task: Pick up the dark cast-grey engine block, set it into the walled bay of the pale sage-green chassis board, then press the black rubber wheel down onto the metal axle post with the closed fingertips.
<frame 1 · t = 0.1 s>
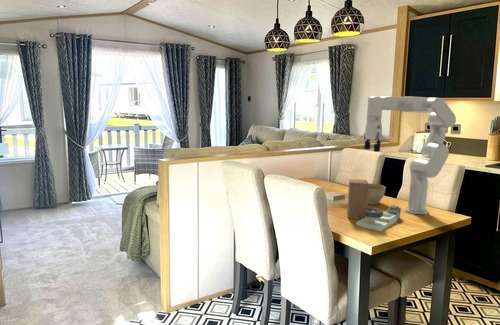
hand: (371, 150, 213), 37 cm above the table, tool pointing down, fingers open, 9 cm apart
wheel: (373, 212, 198), point 7 cm above the table, slide at 4.0 cm
engine block: (393, 218, 213), on the table
planter bowl: (371, 203, 245), on the table
chassis: (377, 223, 204), on the table
wooden block: (356, 216, 217), on the table
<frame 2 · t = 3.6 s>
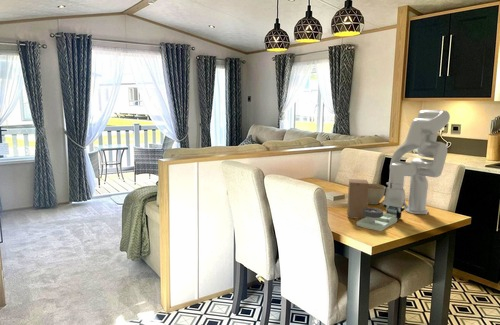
hand: (393, 217, 213), 0 cm above the table, tool pointing down, fingers closed on engine block, 5 cm apart
engine block: (393, 218, 213), on the table, touching gripper
everything else where it was.
when the fingers open (3 cm above the table, at t = 8.5 s): engine block stays where it is, resting on chassis.
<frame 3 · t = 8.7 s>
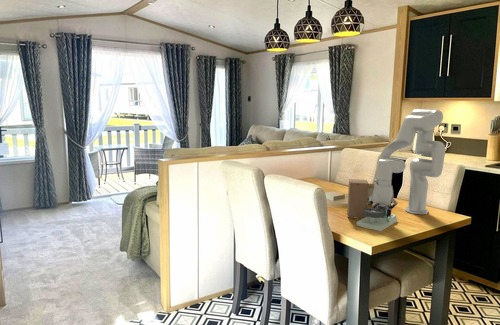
hand: (381, 214, 207), 4 cm above the table, tool pointing down, fingers open, 7 cm apart
engine block: (381, 217, 208), point 2 cm above the table, touching chassis
everything else where it was.
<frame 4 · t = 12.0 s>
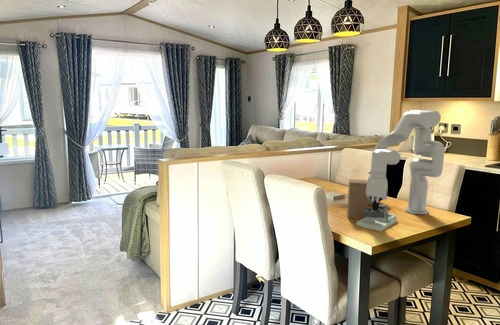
hand: (375, 209, 200), 9 cm above the table, tool pointing down, fingers closed
wheel: (373, 212, 198), point 7 cm above the table, slide at 4.0 cm, touching gripper
everything else where it was.
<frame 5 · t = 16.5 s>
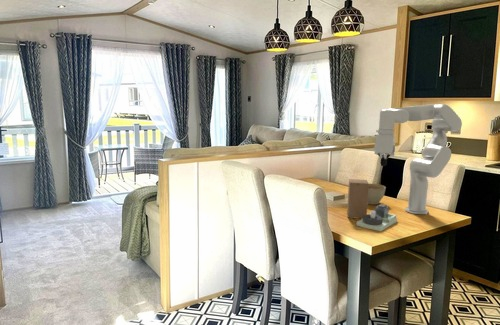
hand: (383, 165, 212), 29 cm above the table, tool pointing down, fingers closed
wheel: (372, 219, 199), point 4 cm above the table, slide at 0.3 cm
everything else where it was.
at the end: engine block inside the target area on the chassis (0.1 cm from its centre), point 2.0 cm above the chassis's base; engine block tilted 0°; wheel slide at 0.3 cm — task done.
